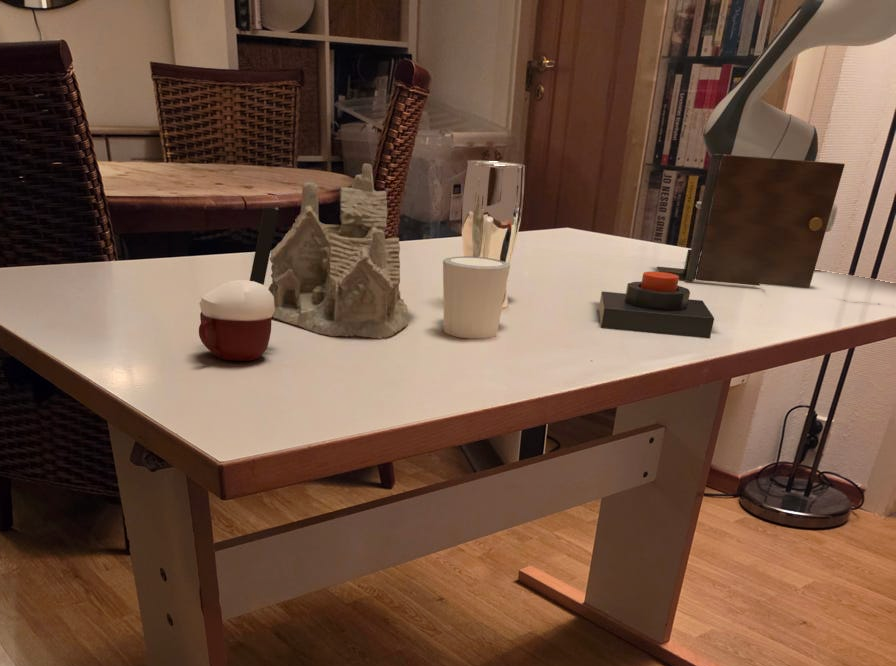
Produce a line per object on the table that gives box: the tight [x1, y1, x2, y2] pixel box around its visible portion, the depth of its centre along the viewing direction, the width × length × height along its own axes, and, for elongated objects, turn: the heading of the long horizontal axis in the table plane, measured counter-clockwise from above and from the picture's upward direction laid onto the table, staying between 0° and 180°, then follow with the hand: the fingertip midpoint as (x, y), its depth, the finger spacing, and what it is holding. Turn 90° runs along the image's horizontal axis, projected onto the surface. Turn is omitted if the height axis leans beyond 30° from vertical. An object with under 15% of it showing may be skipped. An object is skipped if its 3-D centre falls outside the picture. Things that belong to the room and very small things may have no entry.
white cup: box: [442, 255, 511, 339], centre depth 89 cm, size 7×7×7 cm
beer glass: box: [460, 159, 526, 310], centre depth 100 cm, size 7×7×15 cm
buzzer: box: [598, 281, 715, 339], centre depth 99 cm, size 12×10×4 cm
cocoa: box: [198, 205, 280, 362], centre depth 75 cm, size 10×6×12 cm, turn 126°
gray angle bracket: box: [655, 249, 693, 282], centre depth 128 cm, size 5×4×4 cm
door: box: [685, 154, 846, 289], centre depth 121 cm, size 18×2×16 cm, turn 81°
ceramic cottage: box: [268, 163, 409, 340], centre depth 89 cm, size 16×16×15 cm
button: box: [641, 271, 680, 292], centre depth 98 cm, size 4×4×2 cm
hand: (775, 217), depth 130 cm, fingers closed
